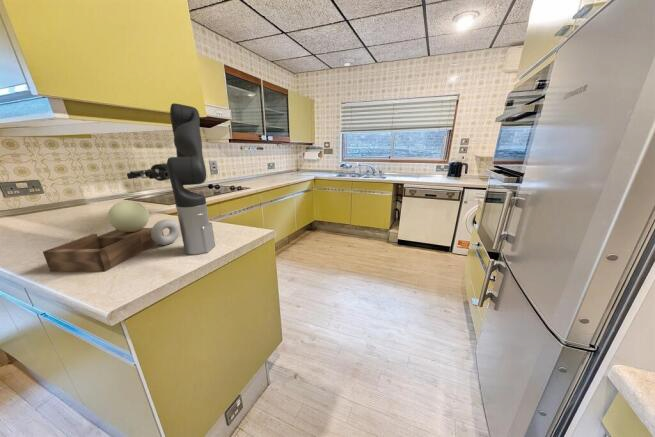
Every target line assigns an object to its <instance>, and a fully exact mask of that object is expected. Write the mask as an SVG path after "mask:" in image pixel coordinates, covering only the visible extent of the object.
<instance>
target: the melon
mask: <svg viewBox="0 0 655 437" xmlns="http://www.w3.org/2000/svg"><path fill="white" fill-rule="evenodd" d="M107 221H108V223H109V224H110V225H111V226H112V227H113V228H114V230H116V229H117V230H119V231H123V232H135V231H138V230H140V229H142V228H146V226H147V225H148V223H149V221H150V212H149V211H148V209H147V207H146V206H144V204H141V203H140V202H137V201H134V200H123V201H120V202H117V203H115V204H113V205H112V206H111V208H110V209H109V210H108V212H107Z"/></svg>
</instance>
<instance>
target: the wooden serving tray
mask: <svg viewBox="0 0 655 437" xmlns="http://www.w3.org/2000/svg"><path fill="white" fill-rule="evenodd" d="M152 228H153V227H143V228H142V229H140V230H138V231H135V232H123V231H119V230H117V229H114V230H111V231H108V232H106V233H104V234H100V235H98V233H91V234H88V235H85V236H83V237H80V238H78V239H75V240H72V241H69V242H66V243H63V244H60V245H58V246H55V247H52V248H50V249H47V250H43V251H42V254H43V256H44V259H45V261H46V264H47V267H48V269H49V272H107V271H109V270H111V269H112V268H114V267H117V266H118V265H120V264H122V263H124V262H126V261H127V260H129V259H131V258H133V257H135V256H136V255H138V254H140V253H142V252H144V251H146V250H148V249H149V248H151V247H153V246H155V245H157V243H156V242H154V241H153V239H152V237H151V230H152ZM162 235H163V236H165V235H164V230H163V231H162Z"/></svg>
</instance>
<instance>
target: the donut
mask: <svg viewBox="0 0 655 437" xmlns="http://www.w3.org/2000/svg"><path fill="white" fill-rule="evenodd" d="M151 228H152V230H151V237H152V239H153V241H154V242H156V243H157V244H158V245H160V246H162V245H163V246H166V245H170V244H172V243H174V242H175V241H177V239H178V237H179V235H180V234H181V229H180V225H178V223H177V222H176V221H174V220H172V219H161V220H159V221H157V222H156V223H155V224H154V225H153V226H152V227H151ZM165 229H168V230H169V233H168V234H167V235H164V236H163V235H162V231H163V232H164V230H165ZM157 244H156V245H157Z"/></svg>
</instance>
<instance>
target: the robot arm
mask: <svg viewBox="0 0 655 437" xmlns="http://www.w3.org/2000/svg"><path fill="white" fill-rule="evenodd" d="M169 114H170V115H169V116H170V117H169V118H170V124H171V128H172V133H173V143H174V146H175V149H176V150H175V151H176V157H175V156H172V157H171V156H170V157H169V158H168V159H166V160H167V162H164V163H157V164H153V165H152V166H151V167H150V168H147V169H140V170H133V171H129V172H128V173H126V176H127V179H129V180H131V179H138V178H141V179H149V180H152V179H154V180H157V181H159V182H164V181H167V180H170V181H169V182H170V185H171V188H172V194H173V198H174V203H175V208H176V213H177V219H178V223H179V230H180V234H181V240H182V244H183V248H184V249H183V250H184V254H187V255H200V254H207V253H209V252H210V251H212V250H213V249H214V248H215V247H216V239H215V235H214V230H213V227H214V226H213V222H210V219H209V212H208V205H207V200H206V196H205V195H204V194H202V193H198V192H193V191H191V190H188V189H187V188H185V187H184V186H191V185H193V186H194V185H202V184H204V183H205V182H206V180H207V169H206V164H205V160H204V157H203V143H202V142H203V141H202V135H201V131H200V130H201V128H200V124H201V122H200V118H201V117H200V113H199V111H198V109H197V108H196V107H194V106H190V105H186V104H180V103H176V102H173V103H172V104H170V108H169Z"/></svg>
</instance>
